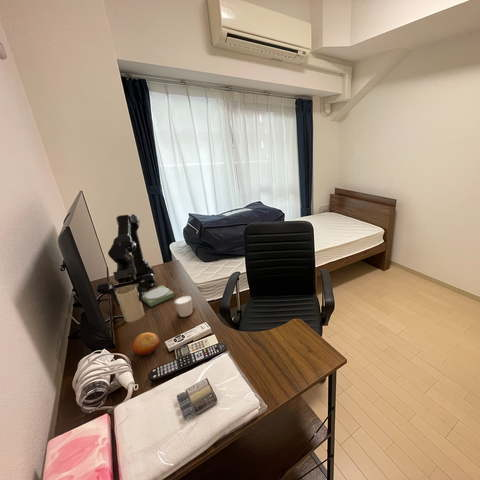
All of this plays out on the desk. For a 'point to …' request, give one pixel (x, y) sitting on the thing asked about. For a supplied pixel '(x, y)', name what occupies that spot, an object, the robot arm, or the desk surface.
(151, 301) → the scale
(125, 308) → the cup
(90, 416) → the desk surface
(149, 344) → the fruit
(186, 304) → the white cylinder
